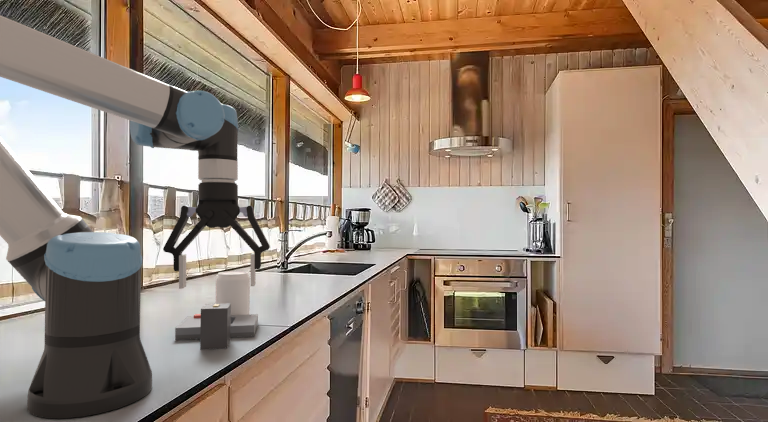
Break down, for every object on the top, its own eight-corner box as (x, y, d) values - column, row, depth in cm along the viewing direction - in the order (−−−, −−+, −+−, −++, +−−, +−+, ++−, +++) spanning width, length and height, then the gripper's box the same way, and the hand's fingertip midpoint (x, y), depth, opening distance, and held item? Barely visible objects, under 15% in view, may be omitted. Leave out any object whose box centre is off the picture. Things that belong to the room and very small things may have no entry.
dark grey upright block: (226, 348, 90) (227, 307, 90) (200, 349, 89) (200, 307, 89) (230, 341, 95) (230, 302, 95) (205, 342, 94) (205, 303, 94)
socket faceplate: (253, 336, 98) (254, 322, 98) (175, 339, 95) (175, 325, 95) (257, 324, 109) (258, 311, 109) (187, 327, 106) (187, 313, 106)
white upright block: (256, 319, 114) (256, 272, 114) (229, 326, 107) (230, 275, 108) (234, 315, 119) (235, 269, 119) (208, 321, 112) (208, 273, 112)
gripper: (281, 183, 98) (281, 281, 98) (157, 182, 93) (157, 285, 93) (280, 181, 91) (280, 287, 91) (146, 179, 86) (146, 291, 86)
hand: (218, 286), depth 92 cm, fingers open, 13 cm apart
